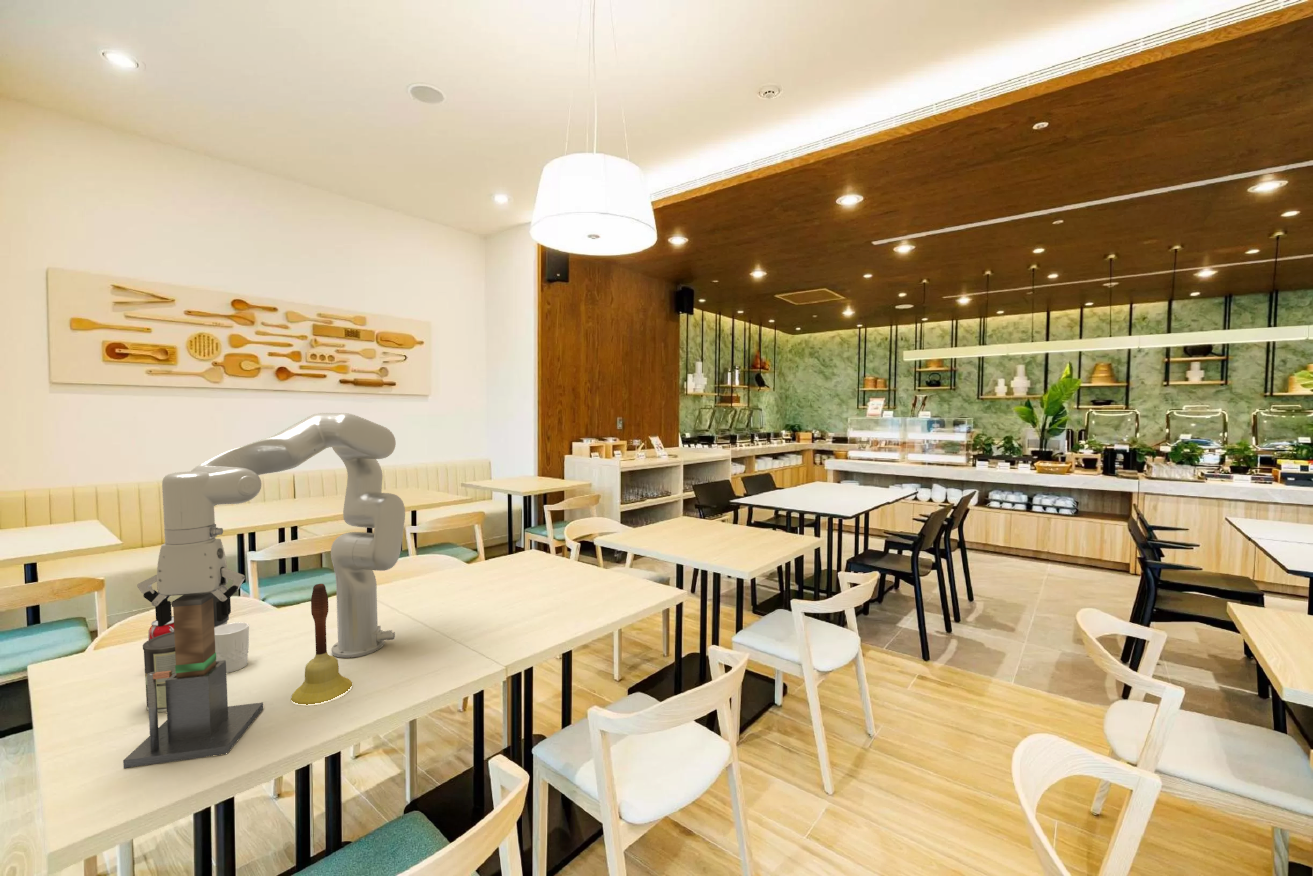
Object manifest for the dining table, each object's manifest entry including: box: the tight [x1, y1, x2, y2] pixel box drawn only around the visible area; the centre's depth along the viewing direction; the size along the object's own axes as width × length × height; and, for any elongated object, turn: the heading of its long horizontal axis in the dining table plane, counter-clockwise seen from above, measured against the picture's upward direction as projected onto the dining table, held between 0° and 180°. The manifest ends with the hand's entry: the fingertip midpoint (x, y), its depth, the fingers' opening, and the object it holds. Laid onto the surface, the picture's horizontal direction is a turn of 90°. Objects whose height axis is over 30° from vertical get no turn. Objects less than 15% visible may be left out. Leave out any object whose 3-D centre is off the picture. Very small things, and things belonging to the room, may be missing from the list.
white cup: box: [214, 621, 250, 674], centre depth 138 cm, size 8×8×10 cm
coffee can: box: [142, 632, 176, 713], centre depth 122 cm, size 10×10×14 cm
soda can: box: [147, 615, 174, 641], centre depth 138 cm, size 7×7×12 cm
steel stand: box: [122, 660, 264, 769], centre depth 109 cm, size 16×16×16 cm
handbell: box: [290, 583, 353, 705], centre depth 126 cm, size 12×12×25 cm
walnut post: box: [171, 593, 216, 678], centre depth 108 cm, size 5×5×19 cm
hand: (194, 621), depth 108 cm, fingers open, 9 cm apart
